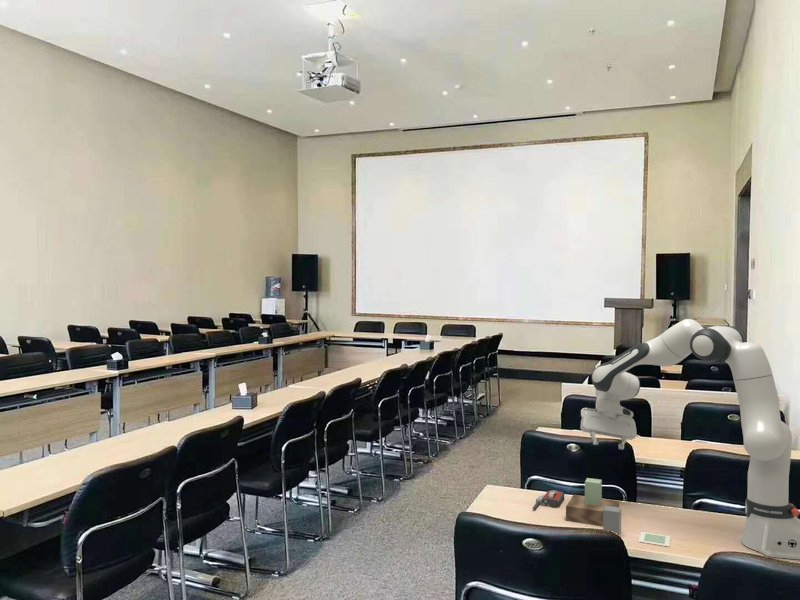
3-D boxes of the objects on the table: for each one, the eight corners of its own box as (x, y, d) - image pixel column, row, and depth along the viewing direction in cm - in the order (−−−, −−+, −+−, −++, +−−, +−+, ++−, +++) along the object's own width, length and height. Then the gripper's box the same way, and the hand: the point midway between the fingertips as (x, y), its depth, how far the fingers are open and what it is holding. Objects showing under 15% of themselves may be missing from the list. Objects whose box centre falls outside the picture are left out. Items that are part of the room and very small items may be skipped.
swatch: (670, 537, 204) (670, 535, 204) (669, 547, 196) (669, 545, 195) (641, 532, 208) (641, 531, 208) (638, 542, 199) (638, 540, 199)
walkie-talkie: (542, 496, 247) (530, 511, 228) (542, 484, 247) (530, 499, 228) (565, 499, 243) (555, 515, 225) (565, 487, 243) (555, 503, 225)
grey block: (621, 531, 208) (621, 507, 208) (619, 537, 204) (619, 512, 204) (605, 529, 211) (605, 505, 210) (603, 534, 206) (603, 510, 206)
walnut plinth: (619, 514, 224) (619, 500, 224) (614, 527, 212) (614, 513, 212) (573, 508, 231) (573, 494, 231) (565, 520, 219) (565, 506, 219)
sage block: (601, 502, 223) (601, 479, 223) (599, 506, 218) (599, 483, 218) (587, 500, 225) (587, 477, 225) (584, 504, 220) (584, 481, 220)
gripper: (583, 403, 236) (583, 439, 229) (637, 413, 236) (639, 448, 229) (578, 409, 241) (577, 444, 234) (630, 418, 241) (632, 453, 234)
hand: (608, 446), depth 231 cm, fingers open, 8 cm apart
